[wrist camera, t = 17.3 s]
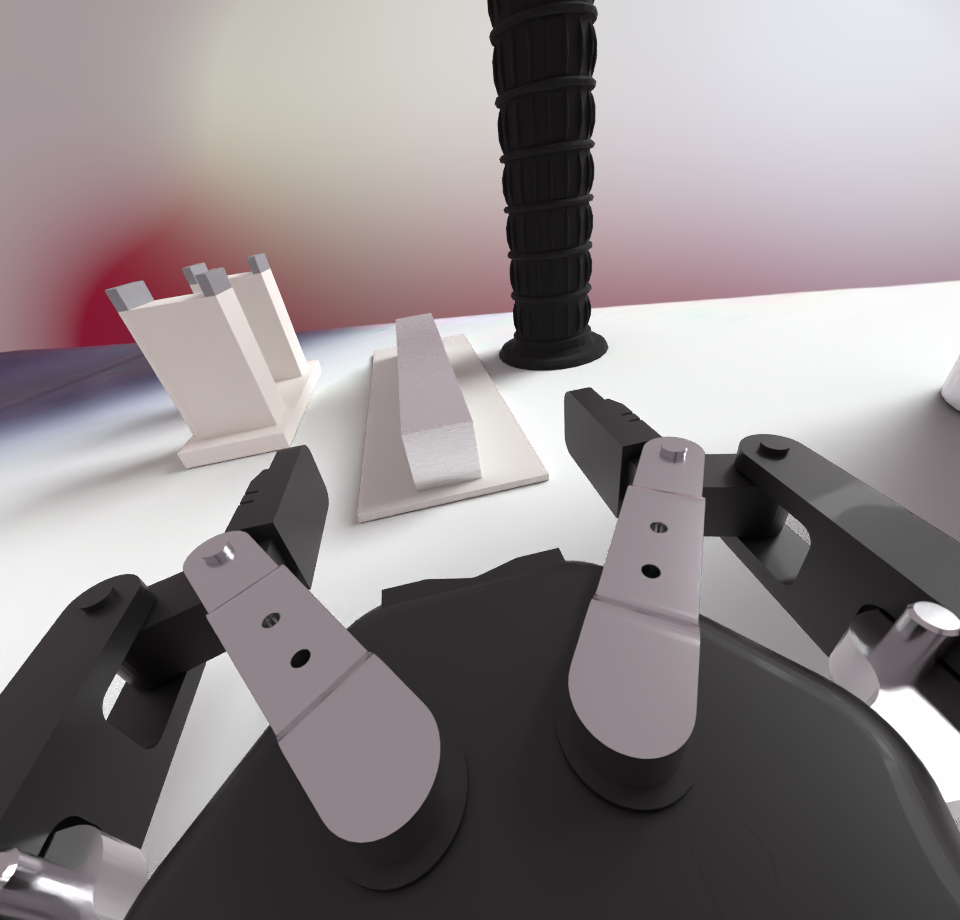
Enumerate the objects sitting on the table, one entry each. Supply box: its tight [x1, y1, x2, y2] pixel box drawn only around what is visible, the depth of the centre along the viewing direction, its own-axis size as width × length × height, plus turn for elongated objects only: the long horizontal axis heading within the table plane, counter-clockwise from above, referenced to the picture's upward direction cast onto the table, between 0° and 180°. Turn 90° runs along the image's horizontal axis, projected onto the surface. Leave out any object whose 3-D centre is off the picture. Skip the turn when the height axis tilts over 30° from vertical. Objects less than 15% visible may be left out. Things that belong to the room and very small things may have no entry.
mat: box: [357, 334, 549, 523], centre depth 32 cm, size 10×28×1 cm, turn 10°
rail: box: [396, 313, 482, 492], centre depth 30 cm, size 24×4×4 cm, turn 11°
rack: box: [105, 253, 322, 469], centre depth 31 cm, size 7×16×11 cm, turn 10°
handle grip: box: [487, 0, 608, 370], centre depth 30 cm, size 10×26×10 cm
